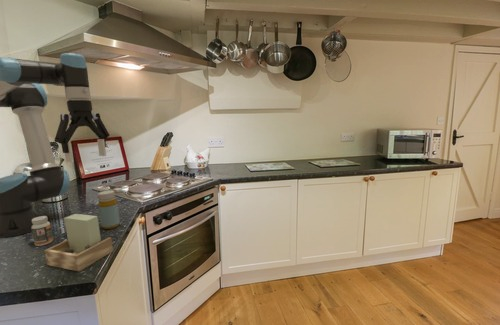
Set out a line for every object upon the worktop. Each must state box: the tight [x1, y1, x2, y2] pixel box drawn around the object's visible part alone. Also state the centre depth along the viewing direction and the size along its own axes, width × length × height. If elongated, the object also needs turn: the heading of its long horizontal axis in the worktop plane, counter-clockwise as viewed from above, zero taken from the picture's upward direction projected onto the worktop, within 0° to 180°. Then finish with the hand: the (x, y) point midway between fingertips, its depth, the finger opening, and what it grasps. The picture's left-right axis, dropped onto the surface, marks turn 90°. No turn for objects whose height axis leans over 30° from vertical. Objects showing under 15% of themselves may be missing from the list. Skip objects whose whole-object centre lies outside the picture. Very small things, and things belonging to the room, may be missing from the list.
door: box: [63, 213, 102, 253], centre depth 91 cm, size 10×5×12 cm, turn 71°
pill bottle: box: [31, 215, 54, 247], centre depth 103 cm, size 6×6×10 cm
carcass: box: [43, 236, 114, 272], centre depth 91 cm, size 14×13×5 cm
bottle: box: [97, 189, 121, 230], centre depth 116 cm, size 7×7×15 cm
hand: (87, 158), depth 102 cm, fingers open, 13 cm apart
